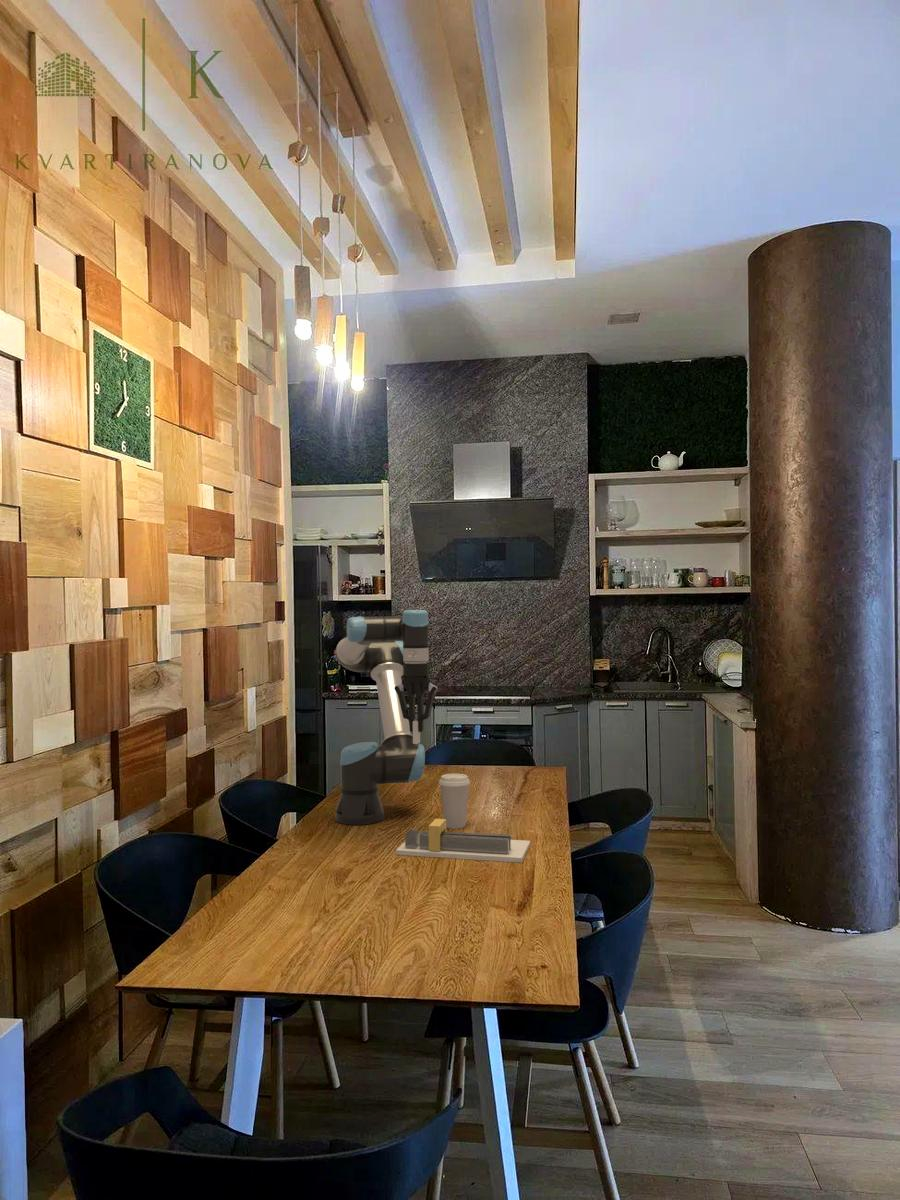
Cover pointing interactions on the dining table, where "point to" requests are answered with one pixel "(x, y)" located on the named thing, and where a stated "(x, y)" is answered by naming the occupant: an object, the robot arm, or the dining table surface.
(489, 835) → the tongs jaw
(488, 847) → the tongs fixed
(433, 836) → the tan boxy piece
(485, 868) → the dining table surface
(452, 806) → the coffee cup
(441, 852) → the board
